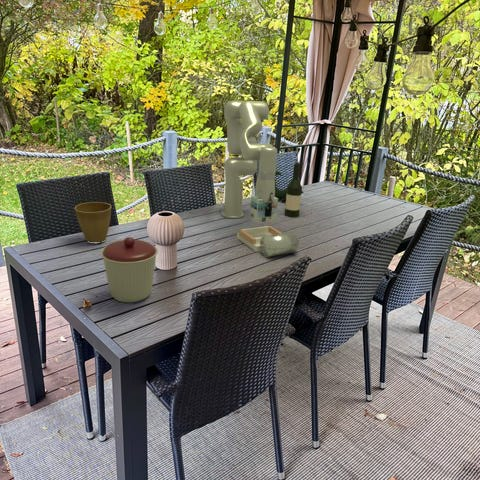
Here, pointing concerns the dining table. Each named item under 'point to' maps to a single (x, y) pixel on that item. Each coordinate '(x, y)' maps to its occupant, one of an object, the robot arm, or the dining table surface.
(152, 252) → the canister
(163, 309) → the dining table surface
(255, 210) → the light bulb box
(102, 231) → the plant pot
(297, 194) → the wine bottle
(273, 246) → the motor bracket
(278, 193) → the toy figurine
